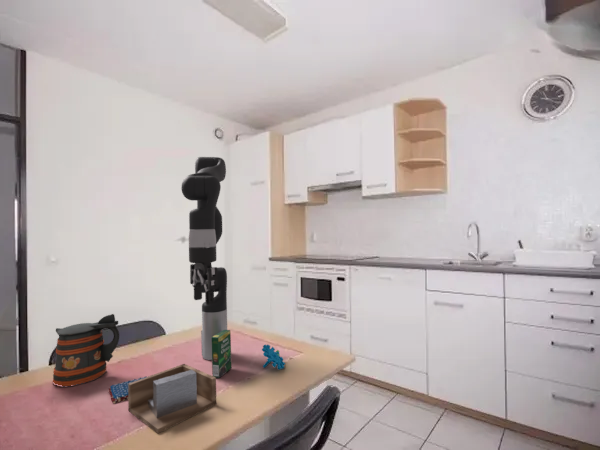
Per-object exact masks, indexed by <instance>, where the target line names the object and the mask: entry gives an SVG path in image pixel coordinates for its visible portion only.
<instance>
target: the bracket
mask: <svg viewBox="0 0 600 450" xmlns="http://www.w3.org/2000/svg"><path fill="white" fill-rule="evenodd" d="M195 404H197V384H196V372H195V371H193V370H189V371H185V372H182V373H179V374H175V375H172V376H168V377H165V378H162V379H158V380H155V381H153V398H152V399H149V400H148V407H149V408H150V409H151V411H152V412H153V414H154V415H155V416H156V418H159V417H162V416H165V415H168V414H170V413H173V412H176V411H178V410H181V409H184V408H186V407H189V406H192V405H195Z"/></svg>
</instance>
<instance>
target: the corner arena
mask: <svg viewBox="0 0 600 450" xmlns="http://www.w3.org/2000/svg"><path fill="white" fill-rule="evenodd" d="M189 370H193V371H195V372H196V384H197V404H195V405H192V406H189V407H186V408H184V409H181V410H178V411H176V412H173V413H170V414H168V415H165V416H162V417H159V418H156V416H155V415H154V414H153V412H152V411H151V409H150V408H149V407H148V400H149V399H152V398H153V381H155V380H158V379H162V378H165V377H168V376H172V375H175V374H179V373H182V372H185V371H189ZM144 377H145V378H144ZM144 377H143V379H140V380H138V379H137V381H134V382H131V383H129V384H128V399H127V400H128V404H127V406H128V411H129V412H128V413H131V414H132V415H134V416H135V417H136V418H138V420H140V421H141V422H143V423H144V425H147V426H148V427H149V428H150V429H151V430H153V431H154V432H156V434H159V433H162V432H163V431H165V430H168V429H170V428H172V427H174V426H176V425H178V424H180V423H181V422H184V421H186V420H188V419H189V418H191V417H194V416H196V415H197V414H199V413H201V412H203V411H205V410H207V409H209V408H212V407H213V406H215V405H217V378H216V377H213V375H211V374H209V373H206V372H204V371H202V370H199V369H197V368H194V367H192V366H191V365H188V364H186V363H182V364H180V365H177V366H174V367H172V368H168V369H165V370H163V371H160V372H157V373H154V374H151V375H148V376H147V377H146V376H144Z"/></svg>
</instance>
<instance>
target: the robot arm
mask: <svg viewBox="0 0 600 450" xmlns="http://www.w3.org/2000/svg"><path fill="white" fill-rule="evenodd" d="M194 164H195V165H194V171H195V173H192V174H191V173H190V174H189V175H187V176H185V177H184V179H183V181H182V182H181V188H180V189H181V192H182V195H183V197H185V199H186V200H189V201H197V202H196V205H197V206H196V208H193V209H191V210H190V211H189V215H188V217H189V218H188V219H189V220H188V223H189V228H188V229H189V230H188V231H189V232H188V261H189V263H191V264H190V266H189V268H190V269H189V270H190V272H189V277H190V279H189V281H190V282H189V283H190V285H192V286H191V287H192V288H193V299H194V301H199V300H202V299H203V294H205V301H204V302H203V303H202V305H201V325H202V326H201V327H202V329H201V331H200V333H201V340H200V341H201V356H202V358H203V359H204V360H207V361H208V360H209V361H212V337H213V336H215V335H216V334H218V333H220V332H221V331H223V330H228V303H227V299H228V298H227V297H228V296H227V295H228V294H227V287H228V273H227V270H226V268H225V267H222V266H221V267H217V266H212V263H214V262H216V261H217V244H218V242H219V241H220V239H221V238H222V235H223V216H222V213H221V211H220V210H219V208H218V207H217V204H218V199H219V196H220V193H221V182H223V181H224V180H225V179H226V176H227V175H226V174H227V173H226V172H227V169H226V168H227V167H226V162H225V160H224V159H223V158H222V157H218V156H216V157H215V156H199V157H197V158H196V159H195V163H194ZM215 293H217V294H216V295H215Z"/></svg>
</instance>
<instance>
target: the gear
mask: <svg viewBox="0 0 600 450" xmlns="http://www.w3.org/2000/svg"><path fill="white" fill-rule="evenodd" d="M275 350H276V349H275V347H273V346H272V347H271V345H270V344H264V345H262V348H261V351H263V353H262V354H263V357H265V358H267V359H266V362H265V363H263V365H262V368H263V369H265V368H266V367H267V366H268V365H269V364H271V363H272V364H271V365H272V367H273V368H277V370H278V371H280V370H283V369H284V368H285V365H286V363H285V362H284V358H283V356H281V355H280V350H278V349H277V350H276V351H275Z"/></svg>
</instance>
